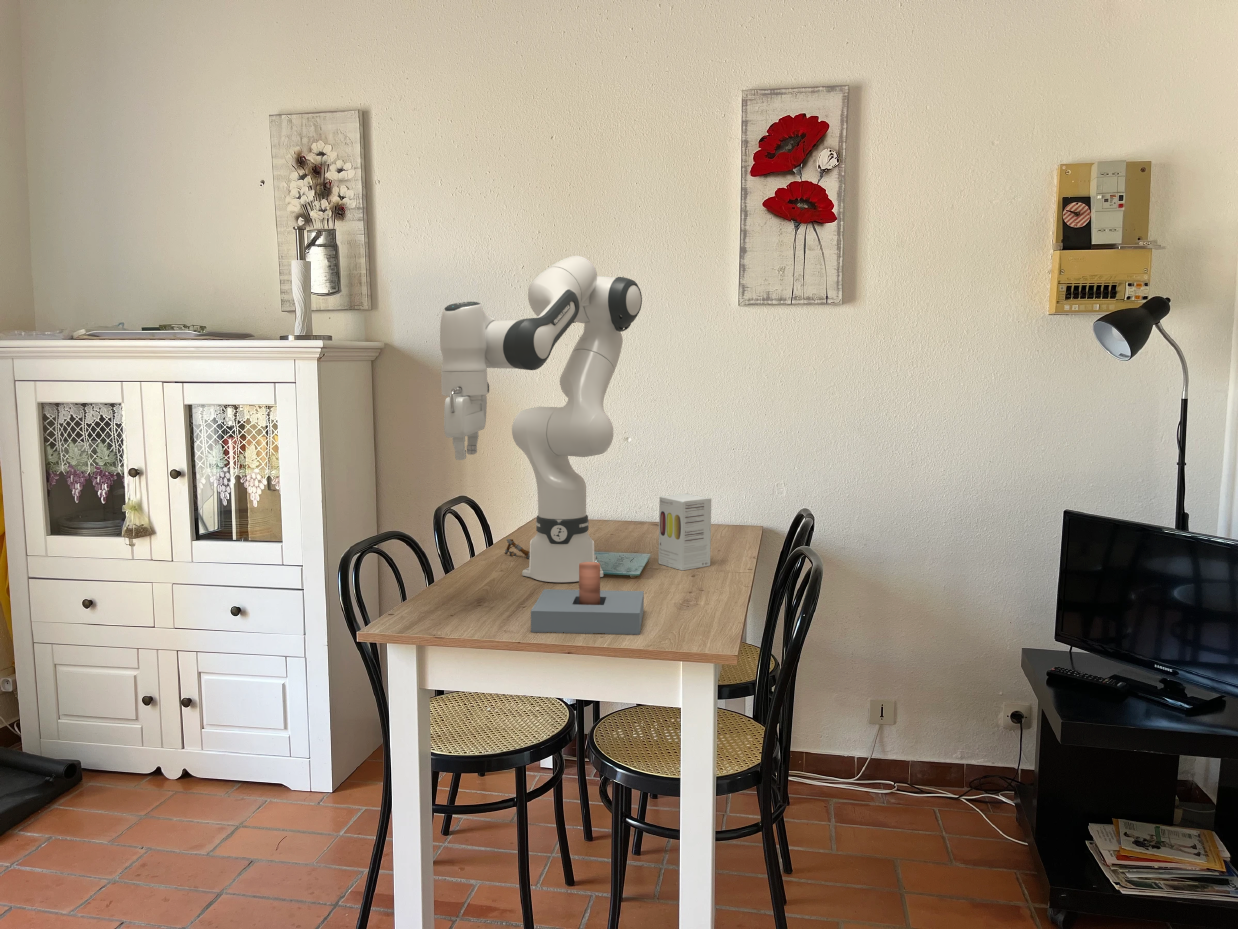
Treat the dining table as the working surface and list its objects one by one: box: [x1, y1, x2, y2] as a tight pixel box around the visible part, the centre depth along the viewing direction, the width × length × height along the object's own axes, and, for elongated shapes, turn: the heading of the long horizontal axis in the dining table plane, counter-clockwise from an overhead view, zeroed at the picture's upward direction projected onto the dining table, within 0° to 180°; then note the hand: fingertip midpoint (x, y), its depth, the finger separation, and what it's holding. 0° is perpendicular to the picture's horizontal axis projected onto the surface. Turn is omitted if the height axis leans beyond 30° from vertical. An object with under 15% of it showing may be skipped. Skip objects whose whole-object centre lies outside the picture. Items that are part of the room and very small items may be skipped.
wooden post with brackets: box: [504, 538, 530, 560], centre depth 234 cm, size 2×8×4 cm, turn 61°
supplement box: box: [658, 493, 712, 571], centre depth 224 cm, size 10×9×17 cm
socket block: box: [530, 588, 645, 635], centre depth 176 cm, size 16×20×4 cm
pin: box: [578, 562, 601, 605], centre depth 176 cm, size 4×4×10 cm
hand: (466, 456), depth 181 cm, fingers open, 8 cm apart
